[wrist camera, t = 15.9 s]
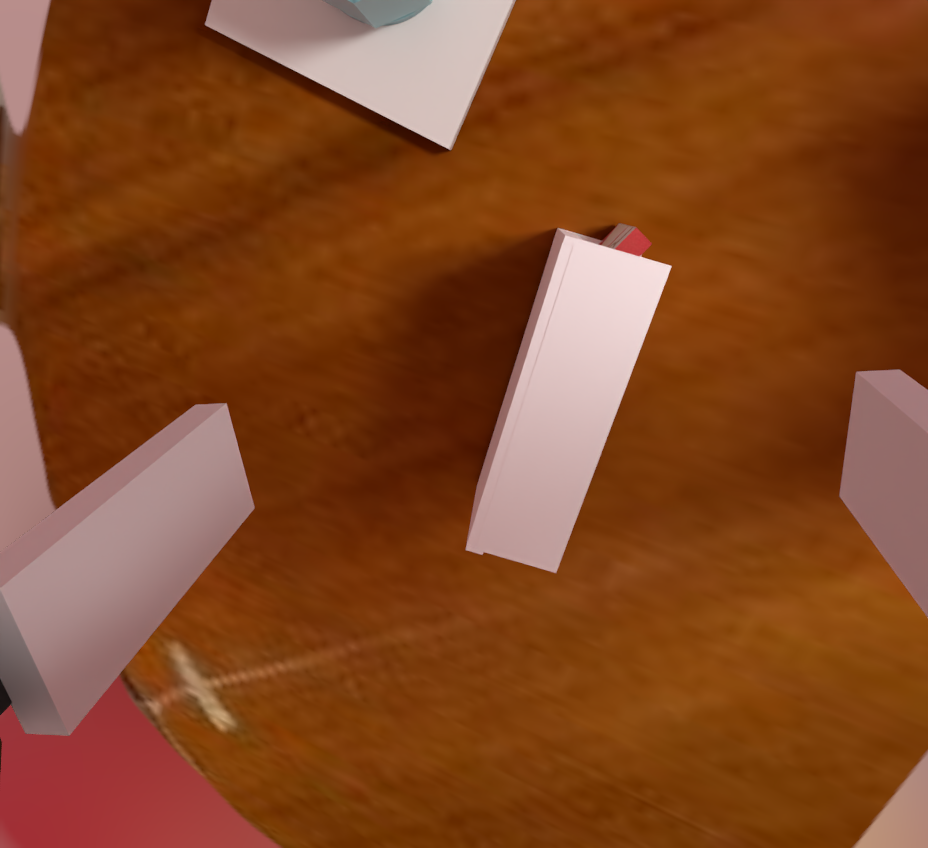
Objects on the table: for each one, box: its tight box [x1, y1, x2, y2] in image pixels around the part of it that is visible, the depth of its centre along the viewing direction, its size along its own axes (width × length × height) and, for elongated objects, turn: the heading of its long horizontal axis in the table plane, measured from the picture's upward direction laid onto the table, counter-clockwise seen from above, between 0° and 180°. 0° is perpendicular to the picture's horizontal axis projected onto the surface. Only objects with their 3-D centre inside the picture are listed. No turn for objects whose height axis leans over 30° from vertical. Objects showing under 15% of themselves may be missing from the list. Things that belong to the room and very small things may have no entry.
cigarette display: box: [466, 223, 672, 573], centre depth 40 cm, size 20×6×9 cm, turn 165°
